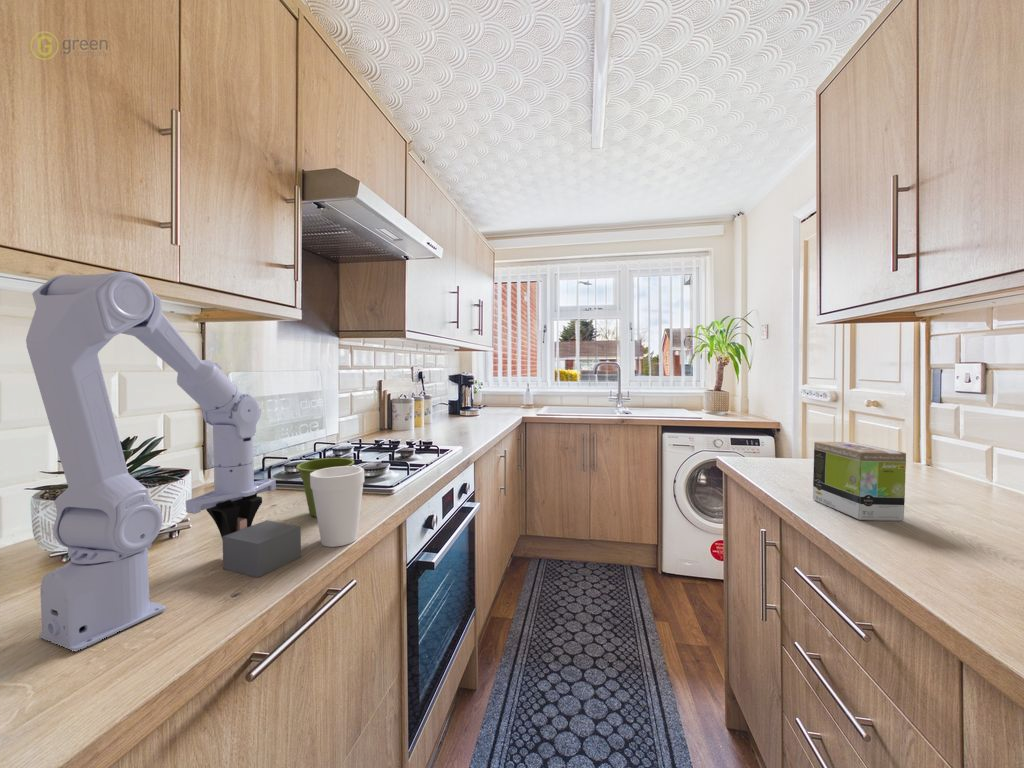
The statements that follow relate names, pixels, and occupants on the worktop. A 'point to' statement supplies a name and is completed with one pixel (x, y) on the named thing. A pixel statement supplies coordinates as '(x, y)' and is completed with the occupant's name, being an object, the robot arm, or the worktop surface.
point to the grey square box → (261, 548)
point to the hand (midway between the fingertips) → (235, 542)
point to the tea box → (860, 480)
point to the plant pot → (315, 465)
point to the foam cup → (337, 503)
